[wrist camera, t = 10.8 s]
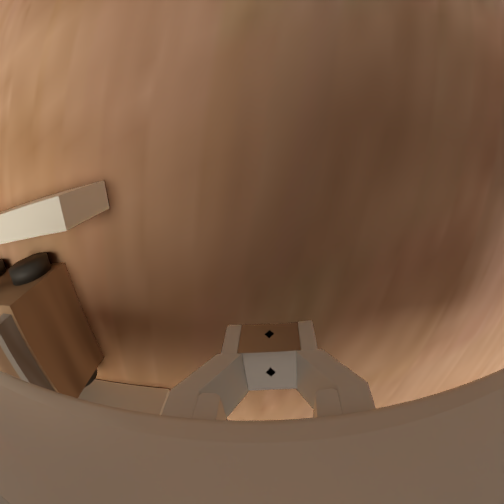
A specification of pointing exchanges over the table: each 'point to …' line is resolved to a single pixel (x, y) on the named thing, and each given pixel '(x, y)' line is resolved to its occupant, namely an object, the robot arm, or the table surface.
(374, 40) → the table surface
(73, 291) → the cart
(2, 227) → the bay
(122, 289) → the table surface
